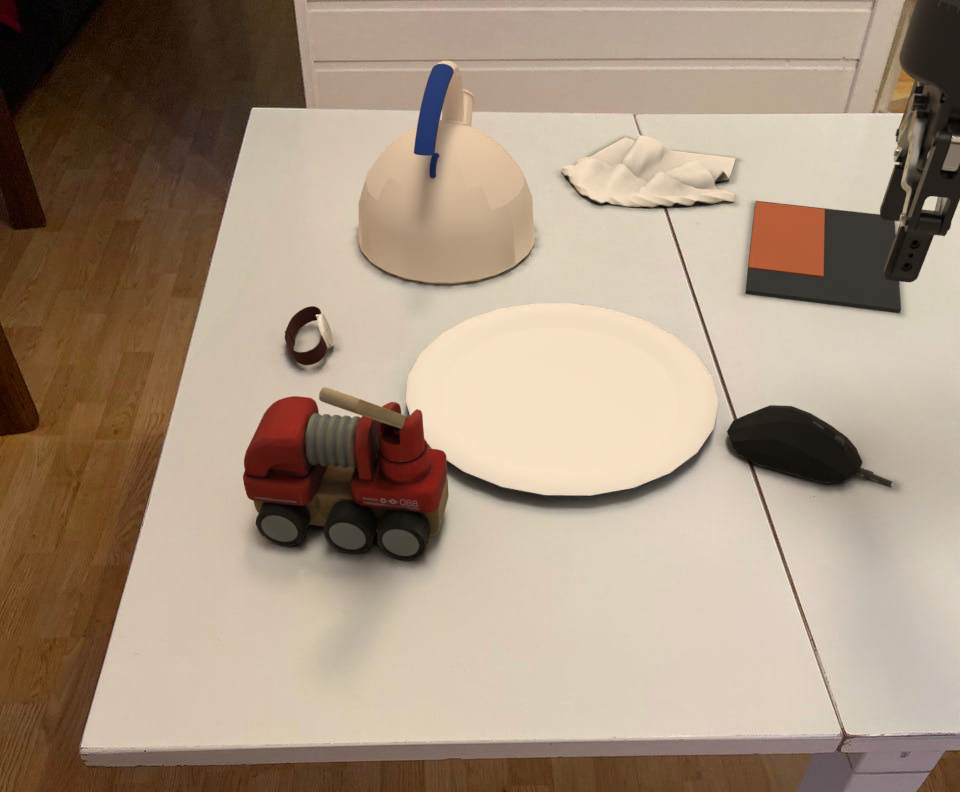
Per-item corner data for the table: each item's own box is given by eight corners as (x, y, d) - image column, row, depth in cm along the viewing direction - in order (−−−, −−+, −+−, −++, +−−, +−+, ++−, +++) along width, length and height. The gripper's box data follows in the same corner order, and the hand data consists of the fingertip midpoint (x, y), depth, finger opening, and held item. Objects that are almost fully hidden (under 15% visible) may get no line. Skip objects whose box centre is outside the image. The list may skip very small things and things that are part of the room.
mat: (893, 219, 113) (894, 214, 112) (900, 312, 101) (901, 308, 100) (755, 203, 115) (756, 199, 115) (745, 293, 103) (746, 288, 102)
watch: (335, 368, 94) (330, 336, 92) (286, 372, 94) (280, 340, 91) (333, 324, 99) (328, 292, 96) (287, 327, 99) (281, 295, 96)
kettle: (546, 201, 115) (556, 32, 101) (520, 294, 103) (527, 117, 89) (382, 186, 118) (369, 20, 104) (337, 276, 105) (315, 100, 91)
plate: (366, 351, 96) (364, 336, 95) (626, 291, 103) (628, 277, 102) (473, 545, 79) (473, 530, 78) (776, 458, 86) (781, 443, 85)
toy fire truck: (280, 475, 85) (242, 293, 71) (454, 495, 83) (449, 313, 69) (238, 568, 78) (186, 386, 64) (427, 592, 76) (415, 411, 62)
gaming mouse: (882, 507, 82) (898, 471, 79) (716, 454, 86) (725, 418, 83) (898, 464, 86) (914, 428, 82) (738, 415, 90) (747, 379, 87)
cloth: (538, 175, 120) (539, 155, 118) (658, 124, 129) (660, 105, 127) (659, 239, 110) (662, 218, 108) (780, 179, 119) (785, 159, 117)
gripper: (1077, 35, 51) (958, 308, 64) (1041, -50, 60) (943, 205, 72) (931, 23, 52) (842, 294, 65) (917, -59, 61) (841, 194, 73)
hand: (895, 247), depth 69 cm, fingers open, 8 cm apart
